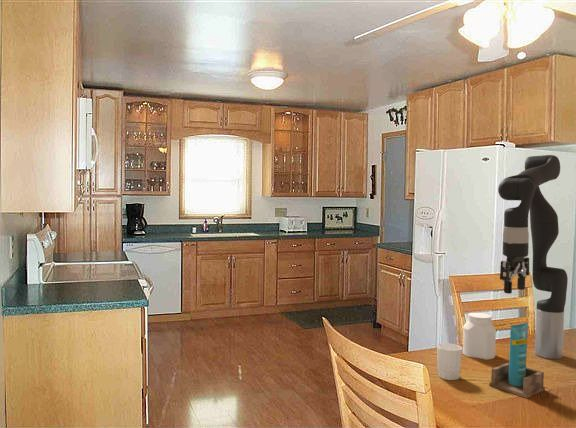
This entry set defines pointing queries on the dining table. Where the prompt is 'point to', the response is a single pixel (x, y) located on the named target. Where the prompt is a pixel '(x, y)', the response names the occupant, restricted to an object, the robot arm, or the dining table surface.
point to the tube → (518, 354)
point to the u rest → (530, 386)
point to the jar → (479, 336)
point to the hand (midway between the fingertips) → (514, 291)
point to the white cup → (449, 361)
